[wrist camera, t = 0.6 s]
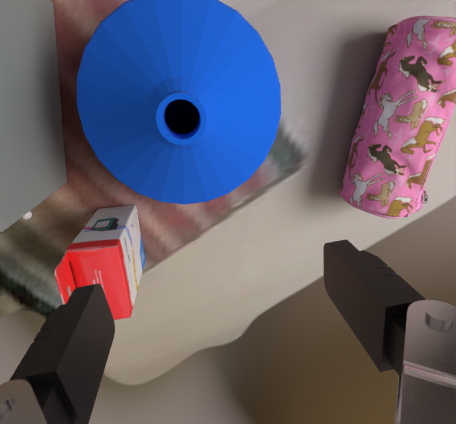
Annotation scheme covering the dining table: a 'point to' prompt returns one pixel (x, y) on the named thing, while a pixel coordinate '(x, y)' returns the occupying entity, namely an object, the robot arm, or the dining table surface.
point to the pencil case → (403, 118)
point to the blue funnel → (178, 98)
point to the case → (29, 109)
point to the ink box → (106, 259)
